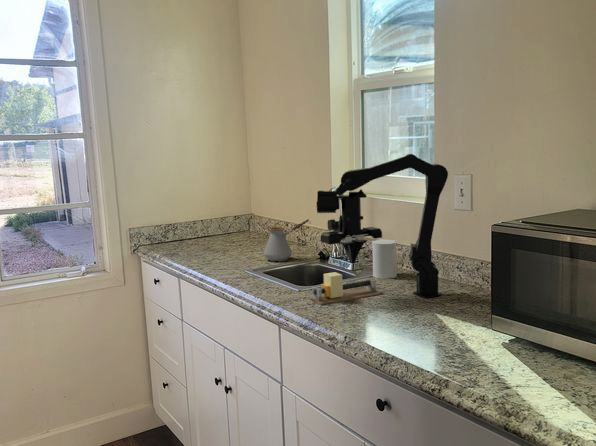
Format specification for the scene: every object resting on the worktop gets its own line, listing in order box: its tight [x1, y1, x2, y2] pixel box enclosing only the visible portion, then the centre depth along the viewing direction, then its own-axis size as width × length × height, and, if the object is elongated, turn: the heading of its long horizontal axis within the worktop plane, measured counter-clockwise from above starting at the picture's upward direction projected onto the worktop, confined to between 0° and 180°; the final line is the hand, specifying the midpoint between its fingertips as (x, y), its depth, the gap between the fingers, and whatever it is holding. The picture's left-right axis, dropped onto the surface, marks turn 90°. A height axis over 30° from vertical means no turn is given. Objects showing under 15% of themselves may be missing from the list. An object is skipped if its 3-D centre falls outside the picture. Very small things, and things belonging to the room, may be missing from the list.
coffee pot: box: [263, 219, 312, 262], centre depth 233 cm, size 21×12×15 cm, turn 119°
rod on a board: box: [307, 277, 382, 306], centre depth 174 cm, size 8×21×4 cm, turn 116°
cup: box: [372, 239, 398, 280], centre depth 198 cm, size 8×8×12 cm
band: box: [320, 283, 330, 297], centre depth 171 cm, size 3×1×3 cm, turn 26°
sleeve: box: [323, 271, 344, 298], centre depth 172 cm, size 4×4×7 cm
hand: (352, 263), depth 174 cm, fingers closed
